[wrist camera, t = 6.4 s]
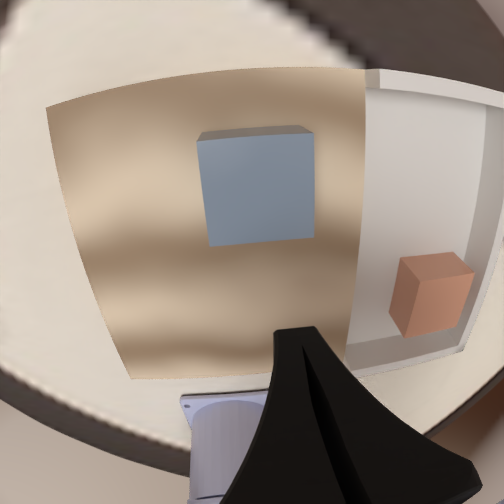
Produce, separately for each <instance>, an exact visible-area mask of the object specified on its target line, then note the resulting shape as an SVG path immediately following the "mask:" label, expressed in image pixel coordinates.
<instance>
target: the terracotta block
mask: <svg viewBox="0 0 504 504" xmlns="http://www.w3.org/2000/svg"><path fill="white" fill-rule="evenodd" d="M474 274H475V272H474V271H473V270H472V269H470V268H469V267H468V266H467V265H466V264H465V263H464V262H463V261H462V260H461V259H460V258H459V257H458V256H457V255H456V254H455V253H454V252H445V253H437V254H428V255H418V256H409V257H400V261H399V266H398V271H397V276H396V281H395V286H394V291H393V295H392V300H391V304H390V308H389V314H390V316H391V317H392V319H393V321H394V322H395V324H396V326H397V327H398V329H399V331H400V333H401V334H402V336H403V338H404V339H405V338H410V337H414V336H419V335H423V334H428V333H432V332H437V331H441V330H445V329H449V328H453V327H456V326H457V323H458V320H459V318H460V315H461V312H462V310H463V307H464V304H465V301H466V299H467V296H468V293H469V290H470V287H471V284H472V281H473V277H474Z"/></svg>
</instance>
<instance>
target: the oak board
mask: <svg viewBox="0 0 504 504" xmlns="http://www.w3.org/2000/svg"><path fill="white" fill-rule="evenodd" d="M46 111H47V118H48V125H49V131H50V137H51V142H52V148H53V153H54V158H55V163H56V167H57V172H58V176H59V181H60V185H61V189H62V193H63V197H64V201H65V205H66V209H67V213H68V216H69V220H70V223H71V227H72V230H73V234H74V237H75V240H76V243H77V247H78V250H79V253H80V256H81V259H82V262H83V265H84V268H85V271H86V274H87V276H88V279H89V282H90V285H91V288H92V290H93V293H94V296H95V298H96V301H97V303H98V306H99V308H100V311H101V314H102V316H103V318H104V321H105V323H106V326H107V328H108V330H109V333H110V335H111V337H112V340H113V342H114V344H115V346H116V349H117V351H118V353H119V355H120V357H121V359H122V362H123V364H124V366H125V368H126V370H127V372H128V374H129V376H130V378H131V379H182V378H205V377H222V376H235V375H247V374H258V373H268V372H272V370H273V332H274V331H276V330H278V329H288V328H298V327H307V326H315V327H316V328H317V329H318V331H319V332H320V334H321V335H322V337H323V338H324V339H325V341H326V342H327V344H328V345H329V346H330V348H331V349H332V350H333V351H334V353H335V354H336V355H337V357H338V358H339V359H340V360H341V361H342V362H343V360H344V354H345V349H346V343H347V337H348V331H349V324H350V318H351V311H352V304H353V297H354V289H355V281H356V273H357V264H358V255H359V245H360V234H361V222H362V208H363V192H364V172H365V135H366V103H365V70H362V69H347V68H325V67H275V68H252V69H237V70H225V71H215V72H206V73H197V74H190V75H183V76H176V77H169V78H163V79H157V80H152V81H147V82H141V83H136V84H132V85H127V86H122V87H118V88H114V89H109V90H105V91H101V92H97V93H93V94H90V95H86V96H82V97H79V98H75V99H72V100H69V101H65V102H62V103H59V104H56V105H53V106H50V107H47V108H46ZM285 125H300V126H302V127H304V128H306V129H307V130H309V131H311V132H313V133H314V165H315V212H314V237H313V238H301V239H290V240H279V241H268V242H257V243H246V244H235V245H224V246H213V247H210V246H209V239H208V231H207V224H206V217H205V209H204V202H203V194H202V186H201V178H200V170H199V162H198V153H197V144H196V141H197V140H198V138H199V136H200V135H201V133H202V132H208V131H217V130H227V129H238V128H251V127H266V126H285Z"/></svg>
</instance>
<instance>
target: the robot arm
mask: <svg viewBox="0 0 504 504" xmlns="http://www.w3.org/2000/svg"><path fill="white" fill-rule="evenodd" d="M180 404H181V406H182V409H183V411H184V414H185V416H186V418H187V421H188V423H189V425H190V428H191V430H192V439H191V462H190V493H189V494H190V495H189V500H188V501H187V504H462V503H464V502H465V501H466V500H468V499H469V498H471V497H472V496H473V495H475V494H476V493H477V492H479V491H480V490H481V488H482V486H483V485H482V482H481V480H480V477H479V475H478V473H477V470H476V469H475V467H474V465H473V463H472V462H471V461H470V460H468V459H466V458H464V457H461V456H459V455H457V454H455V453H453V452H451V451H449V450H447V449H445V448H443V447H441V446H440V445H438V444H436V443H434V442H433V441H431V440H430V439H428V438H426V437H425V436H423V435H422V434H420V433H419V432H417V431H416V430H415V429H413V428H412V427H410V426H409V425H407V424H406V423H404V422H403V421H402V420H401V419H399V418H398V417H397V416H396V415H394V414H393V413H392V412H391V411H389V410H388V409H387V408H386V407H385V406H384V405H383V404H381V403H380V402H379V401H378V400H377V399H376V398H375V397H374V396H373V395H372V394H371V393H370V392H369V391H368V390H367V389H366V388H365V387H364V386H363V385H362V384H361V383H360V382H359V381H358V380H357V379H356V378H355V377H354V375H353V374H352V373H351V372H350V371H349V370H348V369H347V367H346V366H345V365H344V364H343V363H342V361H341V360H340V359H339V358H338V357H337V355H336V354H335V353H334V351H333V350H332V349H331V348H330V346H329V345H328V344H327V342H326V341H325V339H324V338H323V337H322V335H321V334H320V332H319V331H318V329H317V328H316V327H315V326H307V327H298V328H288V329H278V330H276V331H274V332H273V370H272V376H271V381H270V386H269V390H268V391H258V392H247V393H235V394H220V395H200V396H183V397H181V398H180ZM497 504H504V499H503V500H502V501H500V502H499V503H497Z"/></svg>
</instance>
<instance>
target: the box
mask: <svg viewBox="0 0 504 504" xmlns="http://www.w3.org/2000/svg"><path fill="white" fill-rule="evenodd" d="M365 103H366V135H365V172H364V192H363V208H362V222H361V234H360V245H359V255H358V264H357V273H356V281H355V289H354V297H353V304H352V311H351V318H350V324H349V331H348V337H347V343H346V349H345V354H344V360H343V363H344V365H345V366H346V367H347V369H348V370H349V371H350V372H351V373H352V374H353V375H354V377H355V378H358V377H363V376H368V375H373V374H378V373H382V372H387V371H391V370H395V369H399V368H404V367H408V366H412V365H416V364H419V363H423V362H427V361H431V360H434V359H438V358H441V357H445V356H448V355H451V354H455V353H458V352H461V351H463V349H464V347H465V345H466V343H467V340H468V338H469V336H470V333H471V331H472V329H473V326H474V324H475V321H476V319H477V316H478V314H479V311H480V309H481V306H482V304H483V301H484V298H485V295H486V293H487V290H488V287H489V284H490V281H491V278H492V275H493V272H494V268H495V265H496V262H497V259H498V255H499V252H500V248H501V244H502V241H503V237H504V93H502V92H499V91H495V90H492V89H488V88H484V87H480V86H476V85H472V84H468V83H463V82H459V81H454V80H449V79H444V78H439V77H434V76H428V75H422V74H416V73H409V72H402V71H394V70H386V69H368V70H365ZM445 252H454V253H455V254H456V255H457V256H458V257H459V258H460V259H461V260H462V261H463V262H464V263H465V264H466V265H467V266H468V267H469V268H470V269H472V270H473V271H474V272H475V274H474V277H473V281H472V284H471V287H470V290H469V293H468V296H467V299H466V301H465V304H464V307H463V310H462V312H461V315H460V318H459V320H458V323H457V326H456V327H453V328H449V329H445V330H441V331H437V332H432V333H428V334H423V335H419V336H414V337H410V338H405V339H404V338H403V336H402V334H401V333H400V331H399V329H398V327H397V326H396V324H395V322H394V321H393V319H392V317H391V316H390V314H389V308H390V304H391V300H392V295H393V291H394V286H395V281H396V276H397V271H398V266H399V261H400V257H409V256H418V255H428V254H437V253H445Z"/></svg>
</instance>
